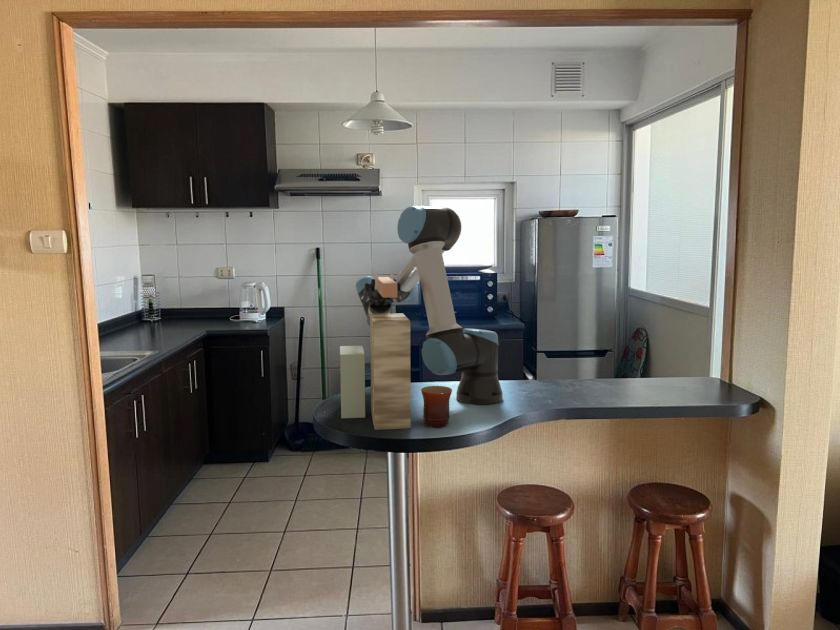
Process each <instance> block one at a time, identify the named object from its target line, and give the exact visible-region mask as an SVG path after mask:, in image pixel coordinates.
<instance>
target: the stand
mask: <svg viewBox="0 0 840 630" xmlns="http://www.w3.org/2000/svg"><path fill="white" fill-rule="evenodd" d="M369 329H370V331H369V335H370V336H369V340H370V341H369V344H370V345H369V346H370V348H369V349H370V351H369V353H370V357H369V358H370V362H369V363H370V364H369V365H370V413H371V414H370V415H371V418H372V424H373V428H374V429H373V430H374V431H375V430H378V431H379V430H397V429H398V430H399V429H400V430H401V429H403V430H404V429H411V414H412V413H411V412H412V411H411V320H410V319H409V318H408V317H407V316H406V315H405V314H404V313H390V314H370V328H369Z"/></svg>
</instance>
